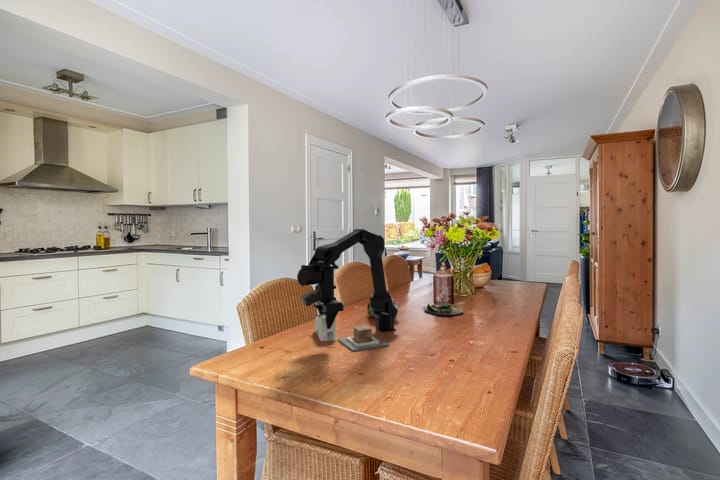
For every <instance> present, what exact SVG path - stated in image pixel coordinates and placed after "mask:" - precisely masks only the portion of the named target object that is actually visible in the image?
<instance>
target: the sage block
mask: <svg viewBox="0 0 720 480" xmlns="http://www.w3.org/2000/svg"><path fill="white" fill-rule="evenodd" d="M316 318H317V329H318V330H319V331H320V332H321V333H324V332H332V331H335V326H336V319H335V320H334V322H333V324H332V326H331V328H330V329H327V325H326V318H325V314H322V315H319V314H317V315H316Z"/></svg>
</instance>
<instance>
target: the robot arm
mask: <svg viewBox="0 0 720 480" xmlns="http://www.w3.org/2000/svg"><path fill="white" fill-rule="evenodd" d="M357 244H360V245H362V247H363V251H364V253H365V254H366V256H367V257H368V258H369V265H370V271H371V277H372V279H371V280H372V285H373V293H372V294H373V296H372V297H369V302H370V301H371V306H372V308H373V311H374V314H378V315H377V318H376V319H375V329H376V330H377V331H379V332H380V333H385V332H393V331H394V332H395V331H397V329H396V327H395V317H396V316H397V315H398V311H399V310H397V309H396V307H395V306H394V305H393V302H392V299H393V298H392V296H391V294H390V293H389V291H388V290H387V286H386V277H385V271H384V263H383V254H384V251H385V239H384V237H383V236H382V235H380V234H375V233H374V232H370V231H368V230H367V229H365V228H355V229H353V230H352V231H351V232H349V233H348V234H346V235H344V236H342V237H340V238H339V239H338V240H336V241H334V242H331V243H327V244H323V245H320V246H317V247H316V248H315V250H314V254H313V255H312V257H311V259H310V261H309V263H308V264H307V265H306V264H301V265H300V269H299V270H298V273H297V275H296V276H297V277H296V279H297V281H298V284H299V285H300V286H302V287H305V286H312V285H315V286H314V289H313V290H311V291H309V292H306V293H304V294H302V295H301V296H300V298H301V300H302V303H303V305H304V306H305V307H310V306H313V307H314V308H316V310H317V311H318V315H322V314H325V318H326V325H327V329H330V328H331V326H332V324H333V322H334V320H335V321H336V318H337V316H338V314H339V312H344V310H345V309H344V307H345V306H344V305H345V304H343V303H342V302H341V301H339V300H337V297H335V290H336V289H337V286H336V285H335V270H338V269H340V267H339V266H338V265H337V264H336V262H337V260H339V259H340V257H341V255H342V254H343V252H345V251H346V250H347V251H348V250H349V249H350V248H352V247H353V246H355V245H357Z"/></svg>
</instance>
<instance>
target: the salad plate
mask: <svg viewBox="0 0 720 480" xmlns="http://www.w3.org/2000/svg"><path fill="white" fill-rule="evenodd" d="M422 309H423V310H424V312H425V313H426V314H428V313H429V315H431V314H432V316H435V315H436V317H441V316H442V317H445V318H450V317H454V316H458V315H460V314H463V313H464V310H463V309H461V308H458V306H457V305H453V304H451V303H450V304H449V303H442V304H441V305H434V304H432V303H430V302H428V304H427V306H422Z"/></svg>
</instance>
